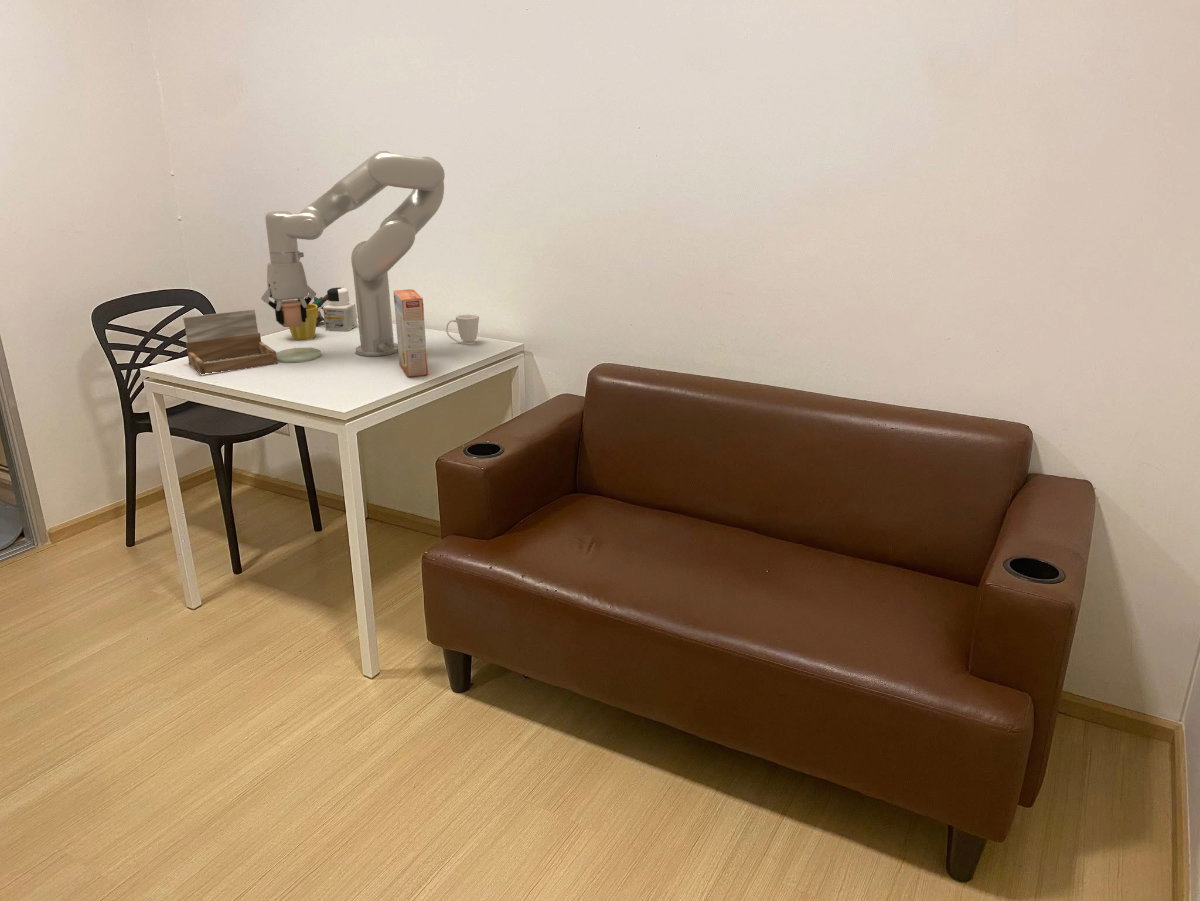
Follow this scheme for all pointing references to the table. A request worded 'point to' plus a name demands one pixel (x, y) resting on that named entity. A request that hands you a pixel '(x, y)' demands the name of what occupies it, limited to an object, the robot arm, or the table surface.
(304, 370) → the table surface
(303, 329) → the plant pot
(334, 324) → the container
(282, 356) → the pale green disc
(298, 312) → the clay pot
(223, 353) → the wooden drawer
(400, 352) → the cracker box
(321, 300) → the binoculars
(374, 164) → the robot arm
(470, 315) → the cup
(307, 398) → the table surface
